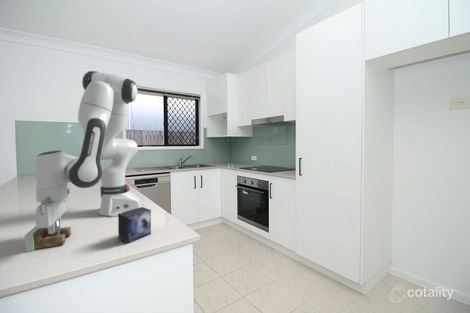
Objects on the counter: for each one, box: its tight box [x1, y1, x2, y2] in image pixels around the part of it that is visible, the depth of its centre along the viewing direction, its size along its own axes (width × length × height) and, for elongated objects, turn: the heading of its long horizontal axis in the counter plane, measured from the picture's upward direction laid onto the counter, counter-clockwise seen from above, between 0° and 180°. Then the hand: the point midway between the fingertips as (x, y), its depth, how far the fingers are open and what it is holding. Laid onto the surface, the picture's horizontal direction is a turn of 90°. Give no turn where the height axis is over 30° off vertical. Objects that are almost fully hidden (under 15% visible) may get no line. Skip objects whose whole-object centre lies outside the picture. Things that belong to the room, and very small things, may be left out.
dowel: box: [50, 219, 61, 236], centre depth 82 cm, size 3×3×8 cm
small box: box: [117, 207, 152, 244], centre depth 87 cm, size 11×6×10 cm, turn 148°
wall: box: [24, 225, 40, 253], centre depth 80 cm, size 2×12×6 cm, turn 23°
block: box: [34, 226, 72, 250], centre depth 82 cm, size 8×10×6 cm
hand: (54, 231), depth 82 cm, fingers closed on dowel, 3 cm apart
